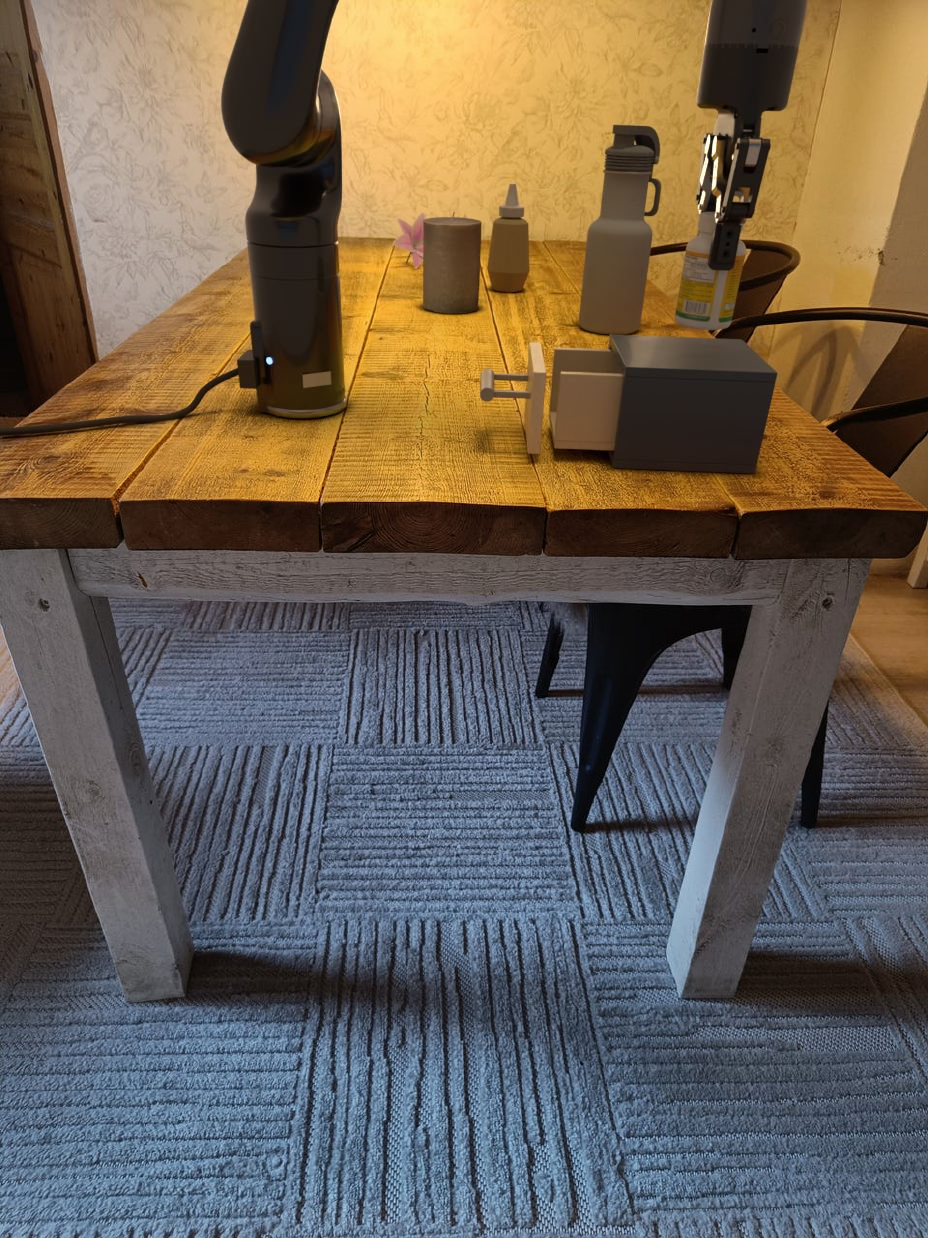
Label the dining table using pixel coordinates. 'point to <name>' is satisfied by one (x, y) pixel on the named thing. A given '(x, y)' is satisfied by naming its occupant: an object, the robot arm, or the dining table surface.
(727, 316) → the supplement bottle
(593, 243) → the water bottle
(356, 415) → the dining table surface
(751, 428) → the cabinet
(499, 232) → the squeeze bottle
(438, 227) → the pillar candle
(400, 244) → the lily
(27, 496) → the dining table surface
